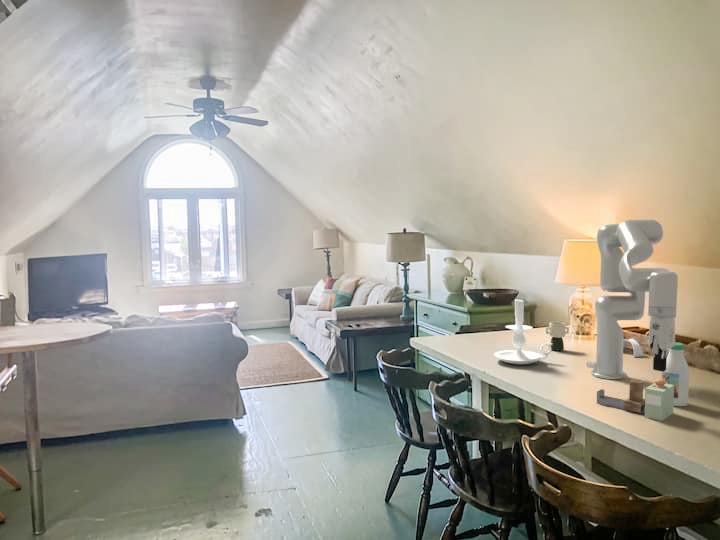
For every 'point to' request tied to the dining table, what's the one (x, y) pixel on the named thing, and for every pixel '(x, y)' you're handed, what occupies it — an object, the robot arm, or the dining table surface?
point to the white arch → (634, 347)
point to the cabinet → (659, 402)
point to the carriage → (635, 397)
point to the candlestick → (520, 341)
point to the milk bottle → (677, 374)
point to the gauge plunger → (660, 383)
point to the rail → (612, 401)
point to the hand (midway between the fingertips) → (659, 370)
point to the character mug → (557, 334)
